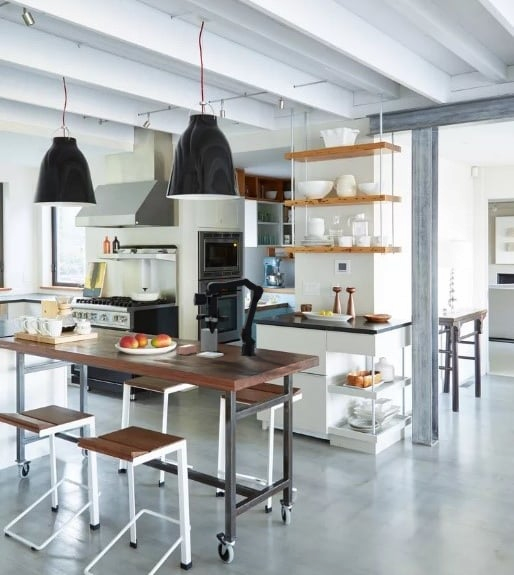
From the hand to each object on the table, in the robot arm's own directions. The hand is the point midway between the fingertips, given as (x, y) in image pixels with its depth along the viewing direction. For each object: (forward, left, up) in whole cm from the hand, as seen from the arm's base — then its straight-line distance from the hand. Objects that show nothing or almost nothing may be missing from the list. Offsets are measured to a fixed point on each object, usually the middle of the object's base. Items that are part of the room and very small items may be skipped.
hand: (212, 333), depth 351 cm
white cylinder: (+13, -15, -13) cm, 24 cm away
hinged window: (+2, 0, -12) cm, 13 cm away
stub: (+17, 0, -12) cm, 21 cm away
